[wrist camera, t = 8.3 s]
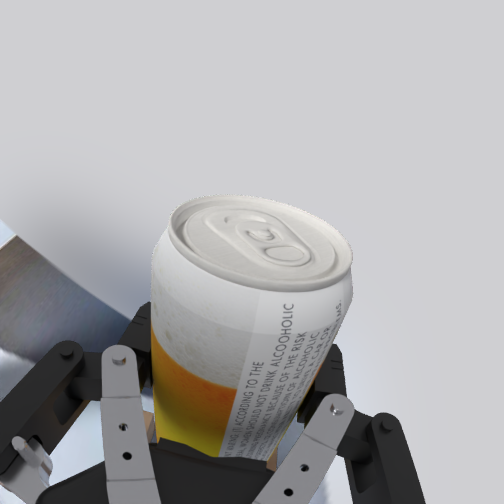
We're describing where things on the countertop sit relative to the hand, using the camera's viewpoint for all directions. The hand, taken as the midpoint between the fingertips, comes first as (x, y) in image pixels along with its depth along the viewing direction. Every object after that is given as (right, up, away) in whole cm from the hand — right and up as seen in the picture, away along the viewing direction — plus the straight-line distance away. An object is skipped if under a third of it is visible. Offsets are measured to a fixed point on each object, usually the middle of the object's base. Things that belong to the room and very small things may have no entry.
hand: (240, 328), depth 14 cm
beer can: (-2, -9, +2) cm, 10 cm away
